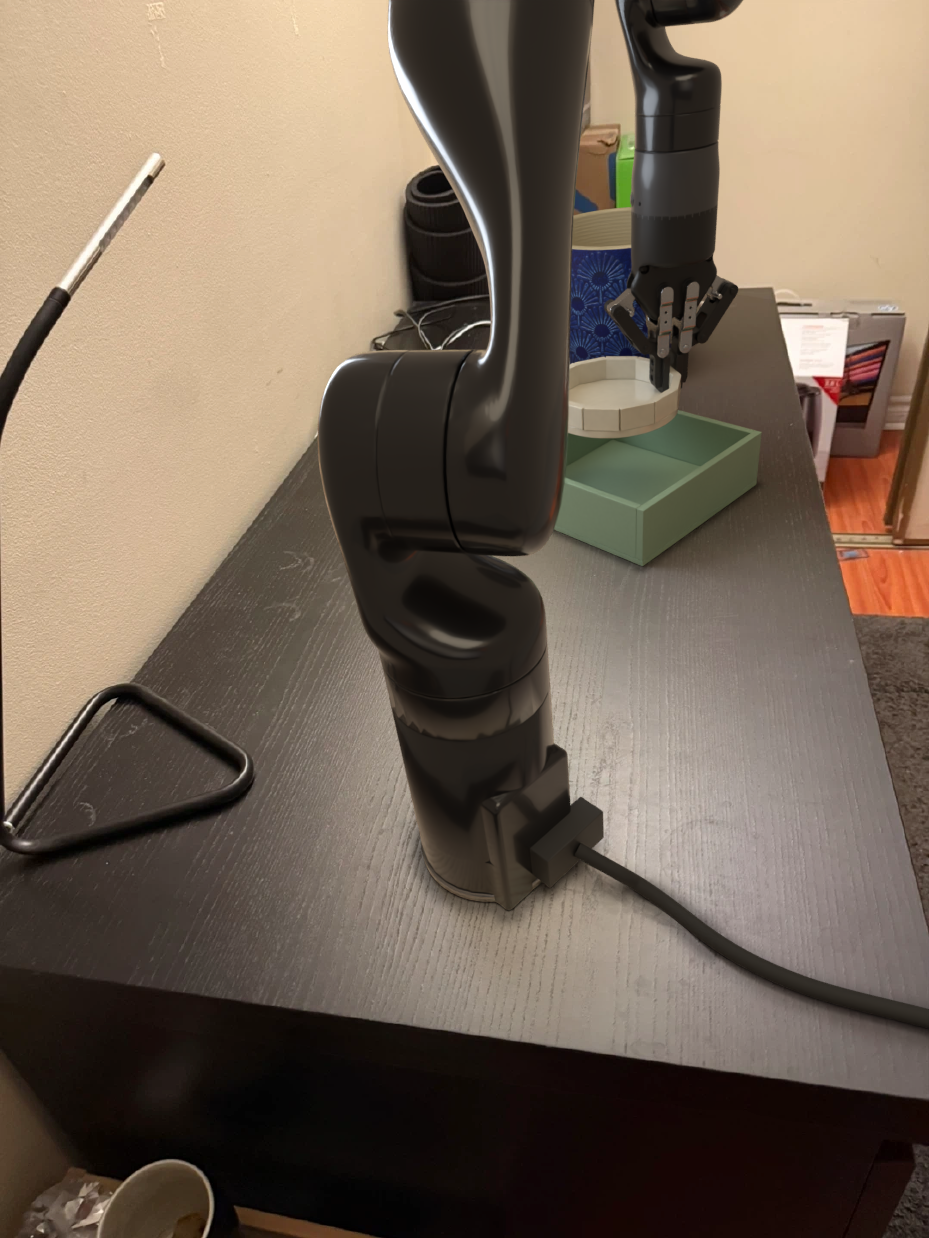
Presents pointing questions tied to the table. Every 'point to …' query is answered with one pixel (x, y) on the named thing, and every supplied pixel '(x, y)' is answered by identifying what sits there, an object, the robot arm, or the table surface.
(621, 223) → the planter
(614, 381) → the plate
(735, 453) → the tote
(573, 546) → the table surface
